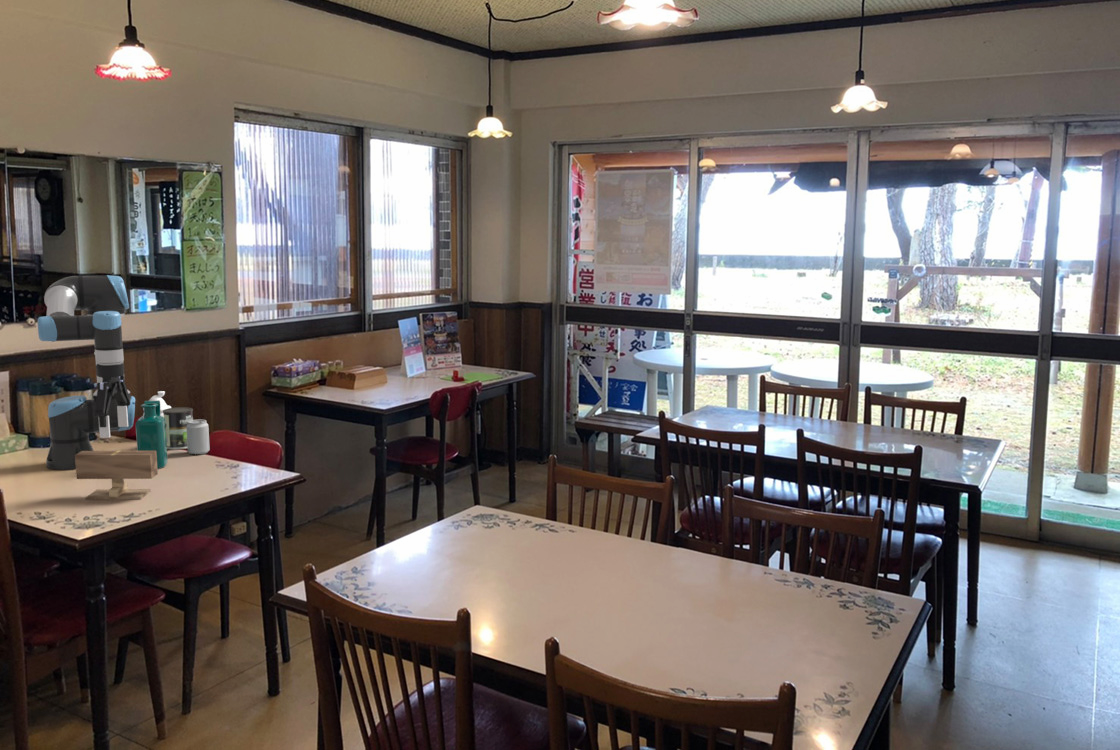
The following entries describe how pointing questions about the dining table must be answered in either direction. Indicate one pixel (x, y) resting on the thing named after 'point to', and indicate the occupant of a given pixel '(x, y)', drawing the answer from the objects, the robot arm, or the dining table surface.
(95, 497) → the fulcrum
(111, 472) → the beam
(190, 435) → the can
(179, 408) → the coffee can
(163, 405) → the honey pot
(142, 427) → the green bottle
